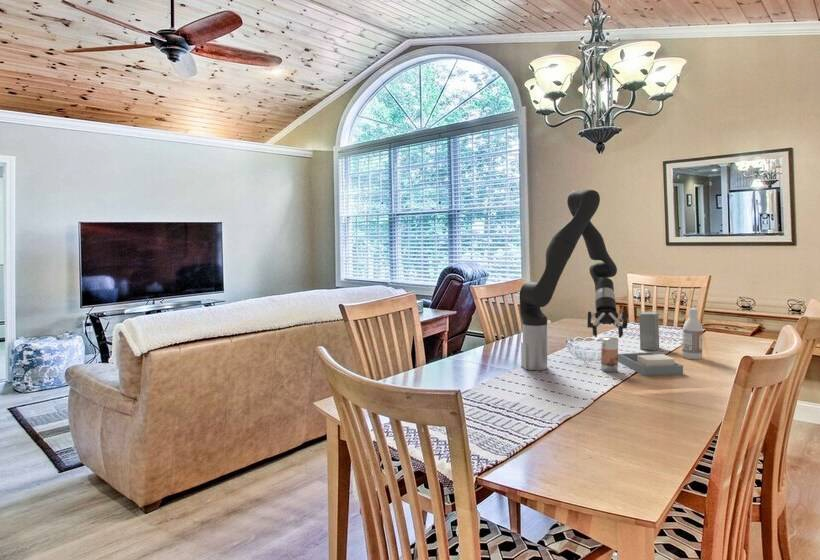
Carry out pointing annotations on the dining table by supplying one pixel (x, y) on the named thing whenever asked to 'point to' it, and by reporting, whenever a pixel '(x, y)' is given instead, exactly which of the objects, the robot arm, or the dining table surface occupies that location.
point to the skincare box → (649, 330)
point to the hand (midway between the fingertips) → (608, 336)
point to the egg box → (655, 360)
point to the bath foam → (692, 336)
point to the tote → (631, 362)
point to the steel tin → (609, 355)
